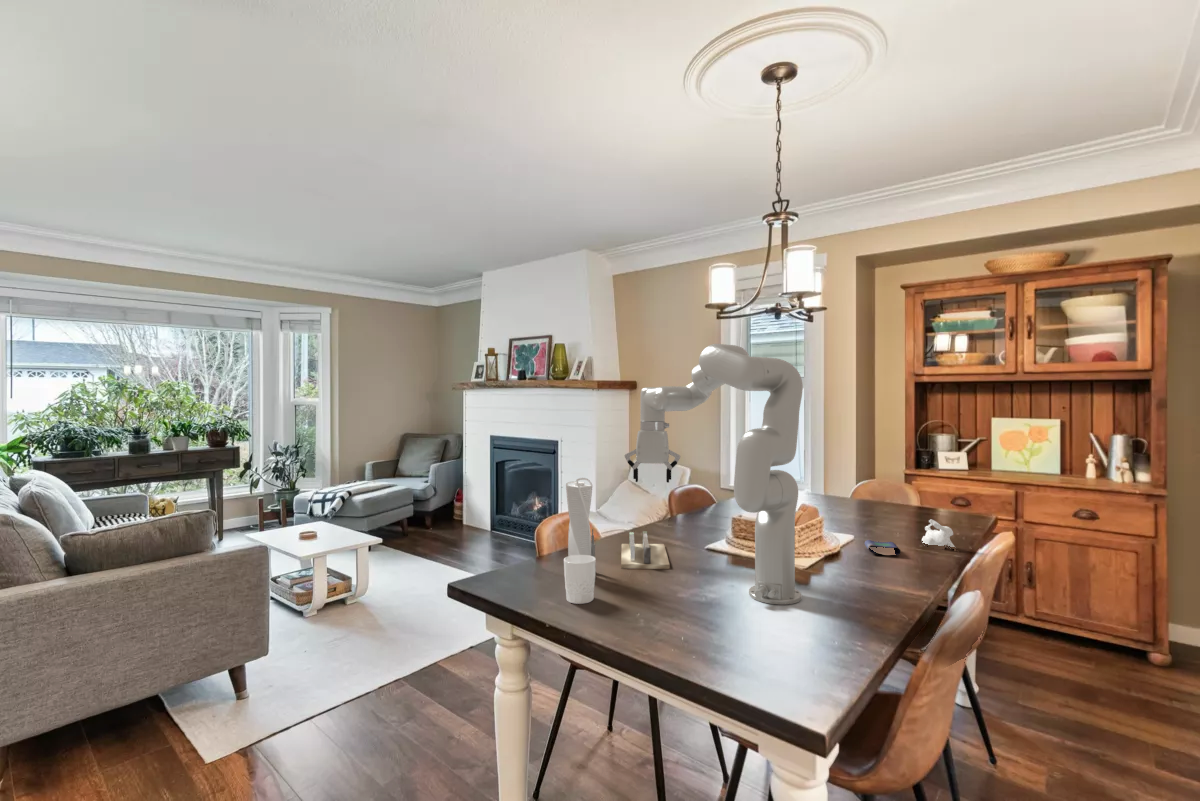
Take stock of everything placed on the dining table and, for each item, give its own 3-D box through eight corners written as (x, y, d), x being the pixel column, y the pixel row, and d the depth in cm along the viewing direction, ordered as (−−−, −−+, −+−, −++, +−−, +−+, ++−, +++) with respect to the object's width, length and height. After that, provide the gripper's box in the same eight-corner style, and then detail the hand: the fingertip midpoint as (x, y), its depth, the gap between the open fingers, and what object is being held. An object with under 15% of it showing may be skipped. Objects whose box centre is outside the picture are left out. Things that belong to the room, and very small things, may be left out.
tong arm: (633, 546, 188) (633, 532, 188) (634, 561, 170) (634, 546, 170) (629, 546, 188) (629, 532, 188) (630, 561, 170) (629, 546, 170)
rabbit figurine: (962, 552, 184) (962, 522, 184) (945, 554, 182) (945, 524, 182) (928, 543, 196) (928, 515, 196) (912, 546, 193) (912, 517, 193)
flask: (868, 544, 180) (863, 538, 190) (868, 554, 180) (863, 547, 190) (901, 547, 178) (894, 540, 188) (901, 557, 177) (894, 550, 188)
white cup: (597, 594, 146) (597, 555, 146) (594, 605, 138) (593, 563, 138) (566, 593, 147) (566, 554, 147) (561, 604, 139) (561, 563, 139)
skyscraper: (595, 582, 156) (594, 478, 156) (565, 582, 156) (564, 478, 156) (596, 573, 164) (595, 474, 164) (567, 573, 164) (567, 474, 164)
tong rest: (663, 548, 191) (663, 530, 191) (669, 569, 167) (669, 549, 167) (621, 548, 191) (621, 530, 191) (621, 569, 167) (621, 548, 167)
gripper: (679, 426, 183) (679, 480, 183) (625, 426, 184) (624, 479, 184) (681, 427, 175) (680, 484, 175) (624, 427, 177) (624, 483, 177)
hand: (652, 481), depth 180 cm, fingers open, 9 cm apart
